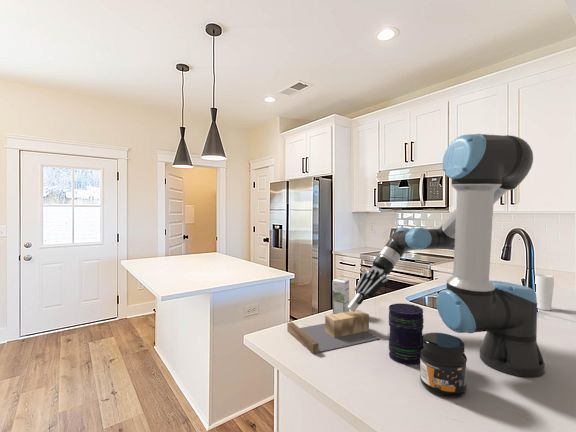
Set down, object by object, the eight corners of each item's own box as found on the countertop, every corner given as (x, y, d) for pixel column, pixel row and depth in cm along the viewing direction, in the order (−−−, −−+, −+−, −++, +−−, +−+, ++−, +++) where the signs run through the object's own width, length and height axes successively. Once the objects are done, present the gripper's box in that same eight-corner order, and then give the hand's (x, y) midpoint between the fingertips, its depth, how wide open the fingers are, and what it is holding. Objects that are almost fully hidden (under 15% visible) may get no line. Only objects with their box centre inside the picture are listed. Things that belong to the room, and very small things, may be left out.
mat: (346, 320, 123) (346, 319, 123) (379, 339, 105) (379, 338, 105) (292, 330, 114) (292, 329, 114) (318, 352, 96) (318, 351, 96)
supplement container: (414, 388, 76) (414, 340, 76) (426, 371, 84) (426, 328, 84) (461, 405, 69) (462, 353, 69) (470, 385, 77) (470, 338, 77)
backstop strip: (292, 330, 114) (292, 322, 114) (318, 352, 96) (318, 343, 96) (287, 330, 113) (287, 322, 113) (313, 354, 95) (312, 344, 95)
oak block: (358, 309, 117) (325, 315, 111) (368, 314, 112) (334, 320, 106) (359, 325, 117) (325, 331, 111) (369, 330, 112) (334, 337, 106)
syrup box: (349, 311, 134) (349, 279, 134) (344, 315, 129) (344, 281, 129) (337, 309, 137) (337, 277, 137) (332, 313, 132) (332, 280, 132)
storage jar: (382, 357, 92) (382, 308, 92) (396, 346, 99) (396, 301, 99) (416, 369, 85) (416, 316, 85) (428, 356, 92) (428, 307, 92)
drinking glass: (557, 311, 132) (558, 277, 132) (542, 311, 132) (542, 277, 132) (544, 306, 139) (545, 273, 138) (529, 306, 139) (530, 273, 139)
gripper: (403, 270, 114) (367, 321, 108) (380, 264, 126) (346, 310, 120) (392, 257, 112) (355, 308, 106) (369, 252, 124) (335, 298, 118)
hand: (350, 309), depth 113 cm, fingers closed
